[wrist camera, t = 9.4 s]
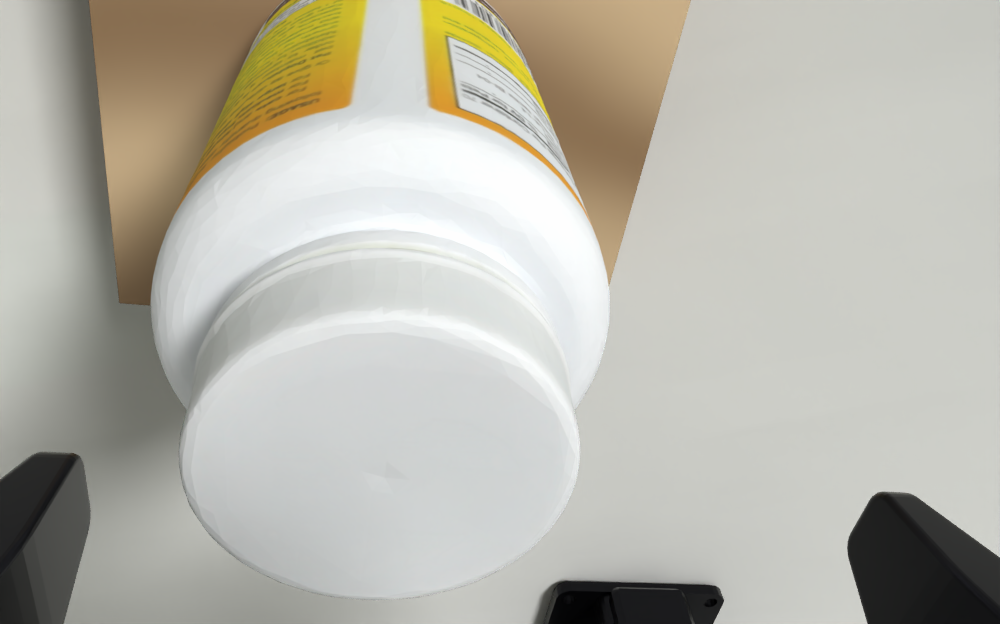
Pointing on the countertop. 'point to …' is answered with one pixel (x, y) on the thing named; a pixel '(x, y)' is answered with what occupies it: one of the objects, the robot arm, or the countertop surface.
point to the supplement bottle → (380, 303)
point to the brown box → (227, 41)
